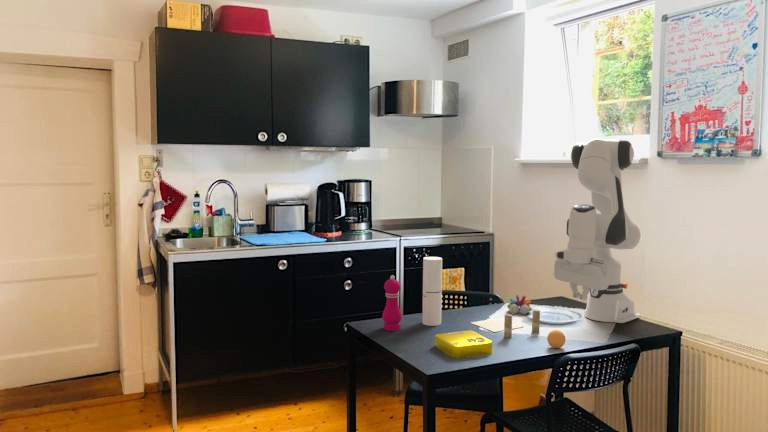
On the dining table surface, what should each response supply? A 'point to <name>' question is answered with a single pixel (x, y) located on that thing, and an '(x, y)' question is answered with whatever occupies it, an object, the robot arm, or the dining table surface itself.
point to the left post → (508, 326)
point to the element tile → (463, 344)
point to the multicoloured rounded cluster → (515, 305)
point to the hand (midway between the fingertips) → (579, 298)
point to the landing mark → (494, 325)
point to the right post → (535, 321)
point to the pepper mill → (392, 305)
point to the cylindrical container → (432, 291)
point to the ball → (556, 339)
